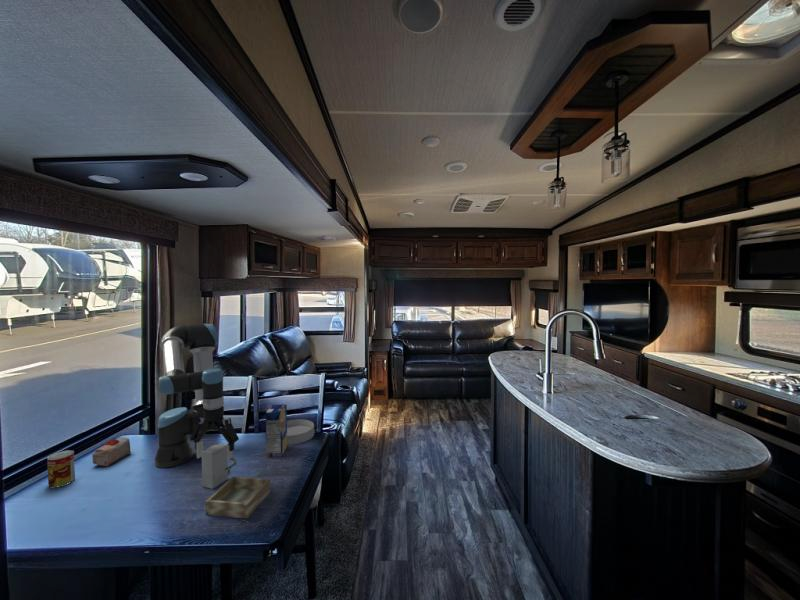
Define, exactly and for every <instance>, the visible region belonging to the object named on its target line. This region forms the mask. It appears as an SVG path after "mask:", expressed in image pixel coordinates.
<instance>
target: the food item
mask: <svg viewBox="0 0 800 600" xmlns="http://www.w3.org/2000/svg"><path fill="white" fill-rule="evenodd" d="M131 452H132V451H131V442H130V439H129V438H128V437H119V438H117V439H116V438H114V439H111V440H109V439H106V441H105V445H102V446H100V447H99V448H97V449H96V450H95V451H94V452H93V453H92V456H91V457H92V464H93V465H96V466H101V467H109V466H110V465H112V464H114V463H115V462H117V461H119V460H120V459H123V458H124V457H126V456H127V455H129V454H130V453H131Z"/></svg>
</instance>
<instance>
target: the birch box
mask: <svg viewBox="0 0 800 600" xmlns="http://www.w3.org/2000/svg"><path fill="white" fill-rule="evenodd" d="M270 493H271V478H270V479H269V478H257V477H247V476H246V477H244V476H232V477H231V478H229V480H227V481H226V482H225V483H224V484H223V485H222V486H221V487H219V489H218V490H216V491H215V492H214V493H213V494H211V496H210V497H209V498H208V499H206V500H205V515H206V516H215V517H224V518H225V517H226V518H238V519H248V518H249V517H250V516H251V515H252V514H253V513H254V512H255V510H256V509H257V508H258V507H259V506H260V504H261V503H262V502H263V501H264V499H266V498H267V496H268V495H269V494H270Z"/></svg>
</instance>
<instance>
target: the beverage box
mask: <svg viewBox="0 0 800 600" xmlns="http://www.w3.org/2000/svg"><path fill="white" fill-rule="evenodd" d="M287 411H288V409H287V404H282V403H281V404H271V406H270V407H269V408H268V409H267V410H266V412H265V436H266V437H265V439H266V441H265V442H266V451H265V452H266V459H272V458H282V457H283V455H284V453H285V451H286V449H287V447H288V445H287V421H288V418H287V417H288V416H287Z"/></svg>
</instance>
